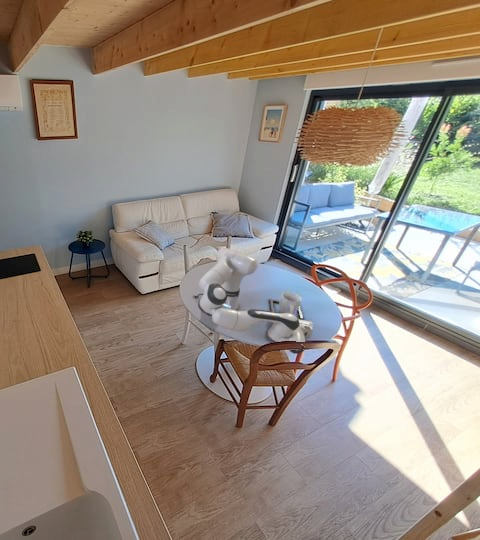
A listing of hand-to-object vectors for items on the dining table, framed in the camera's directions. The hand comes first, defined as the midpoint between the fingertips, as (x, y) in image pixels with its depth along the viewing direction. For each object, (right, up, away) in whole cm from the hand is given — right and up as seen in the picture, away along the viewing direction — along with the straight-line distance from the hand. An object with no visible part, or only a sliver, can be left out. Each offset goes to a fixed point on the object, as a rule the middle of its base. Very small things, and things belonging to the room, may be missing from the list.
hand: (290, 315), depth 170 cm
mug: (+3, -1, +10) cm, 10 cm away
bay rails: (+5, +1, +13) cm, 14 cm away
